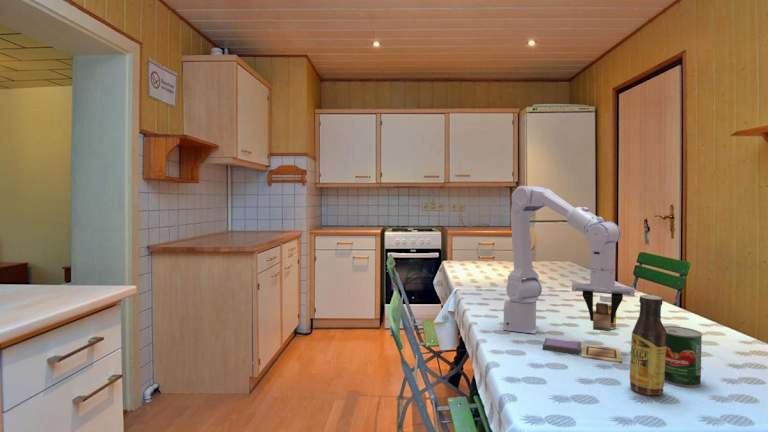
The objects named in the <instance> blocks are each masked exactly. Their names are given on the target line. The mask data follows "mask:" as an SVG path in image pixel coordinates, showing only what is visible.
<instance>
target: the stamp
mask: <svg viewBox="0 0 768 432" xmlns="http://www.w3.org/2000/svg"><path fill="white" fill-rule="evenodd" d="M592 330H593V331H602V332H603V331H604V332H611V330H612V329H611V314H610V312H608V304H605V303H597V302H596V303H595V310H593V321H592Z"/></svg>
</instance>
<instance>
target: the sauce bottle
mask: <svg viewBox="0 0 768 432" xmlns="http://www.w3.org/2000/svg"><path fill="white" fill-rule="evenodd" d="M638 301H639V306H640V307H639V315H638V318H637V320H636V321H635V322H636V323H635V324H634V328H633V329H632V332H631V340H630V341H631V342H630V343H631V344H630V359H629V360H630V365H629V385H630V388H631V389H632V390H633V391H635V392H637V393H640V394H641V395H645V396H661V395H662V394H663V393H664V386H665V381H664V377H665V359H666V330H665V328H664V326H665V325H664V324H663V323H662V320H661V318H662V316H661V313H662V305H663V297H661V296H658V295H652V294H641V295H640V296H639V300H638Z"/></svg>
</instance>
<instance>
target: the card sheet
mask: <svg viewBox="0 0 768 432" xmlns="http://www.w3.org/2000/svg"><path fill="white" fill-rule="evenodd" d="M581 349H582V350H581V358H584V359H591V360H599V361H604V362H605V361H606V362H613V363H619V364H620V363H621V364H622V363H623V361H622V354H621V348H618V347H611V346H610V347H609V346H602V345H596V344H595V345H593V344H588V343H587V344H586V343H582V347H581Z"/></svg>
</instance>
